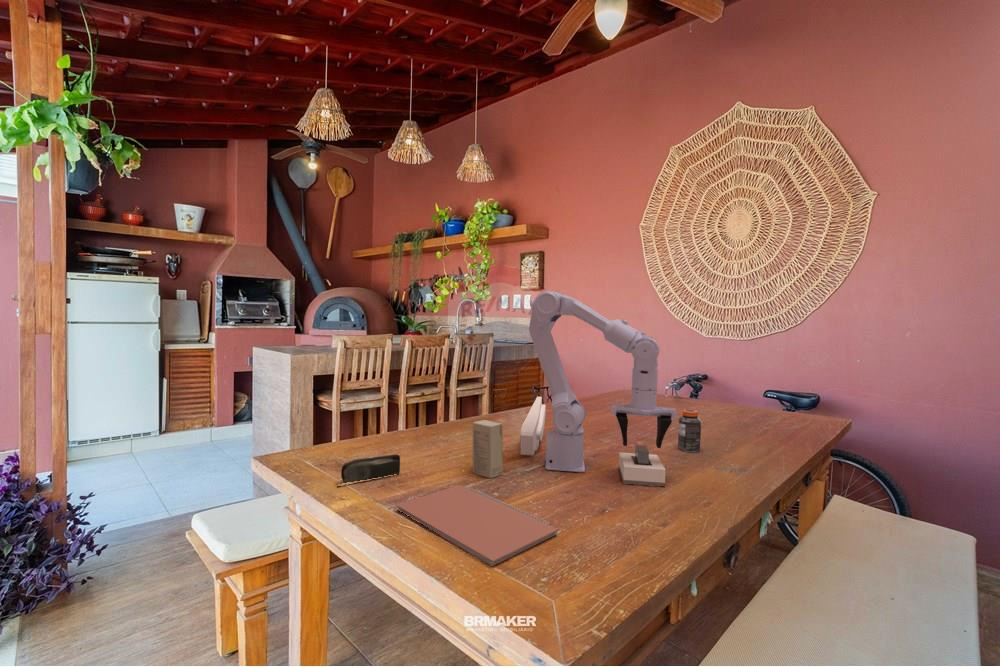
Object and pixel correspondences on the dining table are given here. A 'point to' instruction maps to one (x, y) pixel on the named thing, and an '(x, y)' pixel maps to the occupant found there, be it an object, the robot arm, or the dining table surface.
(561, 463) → the robot arm
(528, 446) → the shelf bracket
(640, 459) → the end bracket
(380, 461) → the black rounded block
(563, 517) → the dining table surface
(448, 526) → the notebook
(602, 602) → the dining table surface
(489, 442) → the skincare box
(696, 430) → the pill bottle
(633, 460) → the post block
